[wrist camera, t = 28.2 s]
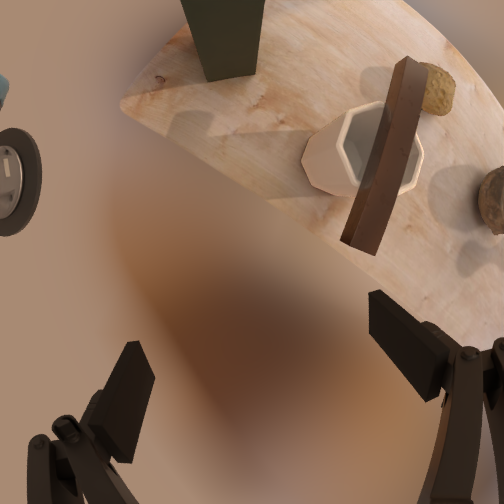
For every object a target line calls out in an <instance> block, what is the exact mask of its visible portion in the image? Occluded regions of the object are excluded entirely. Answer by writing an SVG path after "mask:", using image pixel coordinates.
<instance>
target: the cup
mask: <svg viewBox="0 0 504 504" xmlns="http://www.w3.org/2000/svg"><path fill="white" fill-rule="evenodd" d="M384 106H385V103H384V102H382V101H375V102H372V103H369V104H366V105H362V106H359V107H356V108H353V109H350V110H348V111H347V112H345V113H344V114H342V115H341V116H339V117H338V118H337V119H335V120H334V121H332V122H331V123H330V124H328V125H327V126H325V127H324V128H322V129H321V130H320V131H318V132H317V133H316V134H314V135H313V136H311V137H310V138H309V140H308V143H307V146H306V148H305V151H304V154H303V156H302V159H301V163H302V165H303V168H304V170H305V172H306V174H307V177H308V179H309V181H310V184H311V185H312V186H313V187H316V188H318V189H320V190H323V191H325V192H327V193H330V194H332V195H336V196H346V197H356V195H357V192H358V189H359V186H360V184H361V181H362V178H363V175H364V172H365V169H366V166H367V163H368V160H369V157H370V153H371V150H372V147H373V144H374V141H375V137H376V134H377V131H378V127H379V124H380V121H381V117H382V114H383V110H384ZM423 158H424V151H423V148H422V146H421V143H420V140H419V138H418V135H417V133H415V137H414V141H413V145H412V148H411V152H410V156H409V159H408V163H407V166H406V169H405V173H404V176H403V179H402V183H401V186H400V189H399V192H398V195H400V194H402V193H404V192H406V191H408V190H410V189H413V188H414V187H415V185H416V182H417V179H418V175H419V172H420V169H421V165H422V162H423ZM398 195H397V196H398Z"/></svg>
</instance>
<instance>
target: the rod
mask: <svg viewBox="0 0 504 504" xmlns="http://www.w3.org/2000/svg"><path fill="white" fill-rule="evenodd" d="M428 72H429V70H428V69H427V68H426V67H424V66H423V65H421V64H420V63H418V62H417V61H415V60H413V59H412V58H410V57H409V56H406V57H405V58H403V59H402V60H401V61H399V62H398V63H396V64H395V68H394V72H393V76H392V80H391V84H390V88H389V92H388V95H387V99H386V103H385V106H384V110H383V114H382V117H381V121H380V124H379V127H378V131H377V134H376V137H375V141H374V144H373V147H372V150H371V153H370V157H369V160H368V163H367V166H366V169H365V172H364V175H363V178H362V181H361V184H360V186H359V189H358V192H357V195H356V198H355V201H354V203H353V206H352V209H351V212H350V214H349V217H348V220H347V222H346V225H345V228H344V230H343V233H342V235H341V238H340V241H342V242H343V243H345V244H347V245H349V246H351V247H353V248H356V249H358V250H361V251H363V252H366V253H368V254H371V255H373V256H375V255H376V252H377V250H378V247H379V245H380V242H381V240H382V237H383V234H384V232H385V229H386V226H387V224H388V221H389V218H390V215H391V213H392V210H393V207H394V204H395V201H396V198H397V195H398V192H399V189H400V186H401V183H402V179H403V176H404V173H405V169H406V166H407V163H408V159H409V156H410V152H411V148H412V145H413V141H414V137H415V133H416V129H417V125H418V121H419V117H420V112H421V108H422V103H423V98H424V93H425V88H426V83H427V77H428Z"/></svg>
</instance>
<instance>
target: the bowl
mask: <svg viewBox="0 0 504 504" xmlns="http://www.w3.org/2000/svg"><path fill="white" fill-rule="evenodd" d="M478 206H479V210H480V213H481V216H482V218H483V220H484V222H485V224H486V225H487V226H488V227H489V228H490V229H491V230H492V232H493V234H494V235H498V234H504V166H501V167H500V168H497V169H495V170H493V171H491V172H490V173H488V175H487V176H486V177H485V179H484V180H483V182H482V184H481V186H480V191H479V198H478Z"/></svg>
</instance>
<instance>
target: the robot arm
mask: <svg viewBox="0 0 504 504" xmlns="http://www.w3.org/2000/svg"><path fill="white" fill-rule="evenodd" d="M8 90H9V82H8V80H7V79H6V78H5V77H4V76H3V75H1V74H0V110H1V108H2V106H3V102H4V99H5V97H6V94H7V92H8ZM24 184H25V170H24V164H23V160H22V157H21V155H20V154H19V152H18V151H17V150H16V149H15V148H14V147H11V146H0V219H3V218H7V217H9V216H10V215H12V214H13V213H14V212H15V210H16V209H17V207H18V205H19V203H20V201H21V198H22V195H23V191H24ZM368 295H369V334H370V335H371V336H372V337H373V338H374V339H375V341H376V342H377V343H378V344H379V346H380V347H381V348H382V349H383V350H384V351H385V353H386V354H387V355H388V356H389V358H390V359H391V360H392V361H393V363H394V364H395V365H396V366H397V368H398V369H399V370H400V371H401V372H402V374H403V375H404V376H405V377H406V378H407V380H408V381H409V382H410V384H411V385H412V386H413V387H414V389H415V390H416V391H417V392H418V394H419V395H420V396H421V397H422V399H423V400H424V401H425V402H428V401H430V400H432V399H434V398H436V397H438V396H439V394H440V390H441V387H442V388H443V389H444V390H445V391H446V393H445V396H444V399H443V402H442V406H441V407H442V414H441V420H440V424H439V429H438V434H437V438H436V442H435V446H434V450H433V454H432V458H431V462H430V465H429V469H428V472H427V475H426V478H425V482H424V485H423V488H422V491H421V493H420V496H419V499H418V502H417V504H473V501H472V500H471V493H472V488H473V483H474V479H475V473H476V467H477V461H478V454H479V447H480V438H481V427H482V411H483V402H484V406H485V410H486V414H487V419H488V423H489V428H490V433H491V438H492V444H493V450H494V456H495V463H496V471H497V479H498V491H499V504H504V337H501V338H498V339H496V340H495V341H494V344H493V347H492V349H489V350H485V351H481V352H480V351H479V350H478V349H477V348H475V347H471V346H465V347H462V346H460V345H459V344H458V343H457V342H456V341H455V340H453V339H452V338H451V337H450V336H449V335H447V334H446V333H445V332H444V331H443V330H441V329H440V328H439V327H438V326H436V325H435V324H433V323H430V322H428V321H424V322H422V323H420V322H419V321H417V320H416V319H415V318H414V317H413V316H412V315H410V314H409V313H408V312H407V311H406V310H405V309H403V308H402V307H401V306H400V305H398V304H397V303H396V302H395V301H394V300H392V299H391V298H390V297H389V296H388V295H386V294H385V293H384V292H383V291H381V290H376V291H373V292H369V293H368ZM154 381H155V376H154V374H153V371H152V369H151V367H150V365H149V363H148V360H147V358H146V356H145V354H144V352H143V349H142V347H141V344H140V342H139V341H132V342H127V344H126V346H125V347H124V350H123V351H122V353H121V355H120V357H119V359H118V361H117V363H116V365H115V367H114V369H113V371H112V373H111V375H110V377H109V379H108V381H107V383H106V385H105V387H104V389H103V390H98V391H97V392H96V393H95V394H94V395H93V396H92V398H91V400H90V402H89V404H88V406H87V408H86V410H85V412H84V414H83V416H82V418H81V420H80V422H79V423H78V422H77V421H76V419H75V418H74V417H73V416H72V415H64V416H61V417H59V418H57V419H56V420H55V421H54V423H53V425H52V431H53V432H54V434H55V435H56V436H57V437H58V439H59V440H54V441H51V440H50V439H49V438H48V437H47V436H46V435H44V434H39V435H36V436H34V437H33V438H32V439H31V440H30V442H29V445H28V459H27V501H28V503H27V504H85V503H84V498H83V494H84V496H85V498H86V500H87V502H88V504H139V503H138V501H137V500H136V499H135V497H134V496H133V495H132V493H131V492H130V490H129V489H128V488H127V486H126V485H125V483H124V482H123V480H122V479H121V477H120V476H119V474H118V473H117V471H116V470H115V468H114V466H113V465H112V464H111V463H110V459H111V456H113V458H114V459H115V460H116V461H117V462H118V463H130V464H131V463H132V461H133V457H134V453H135V449H136V446H137V442H138V438H139V434H140V430H141V427H142V423H143V419H144V415H145V412H146V408H147V405H148V401H149V398H150V394H151V391H152V387H153V384H154ZM82 492H83V493H82Z"/></svg>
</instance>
